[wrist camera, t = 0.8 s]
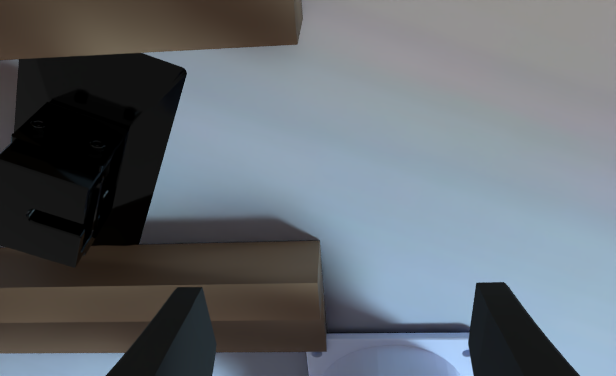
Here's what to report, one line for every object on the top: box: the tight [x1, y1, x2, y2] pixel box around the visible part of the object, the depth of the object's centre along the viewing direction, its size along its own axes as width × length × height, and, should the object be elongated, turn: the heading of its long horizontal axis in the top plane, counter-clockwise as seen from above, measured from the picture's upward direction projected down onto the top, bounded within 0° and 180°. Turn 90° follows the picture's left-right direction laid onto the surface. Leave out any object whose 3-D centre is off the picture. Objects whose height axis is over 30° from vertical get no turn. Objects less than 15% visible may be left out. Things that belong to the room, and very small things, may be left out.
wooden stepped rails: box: [0, 0, 327, 353], centre depth 19 cm, size 21×16×2 cm
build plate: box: [0, 53, 187, 268], centre depth 19 cm, size 12×7×5 cm, turn 159°
